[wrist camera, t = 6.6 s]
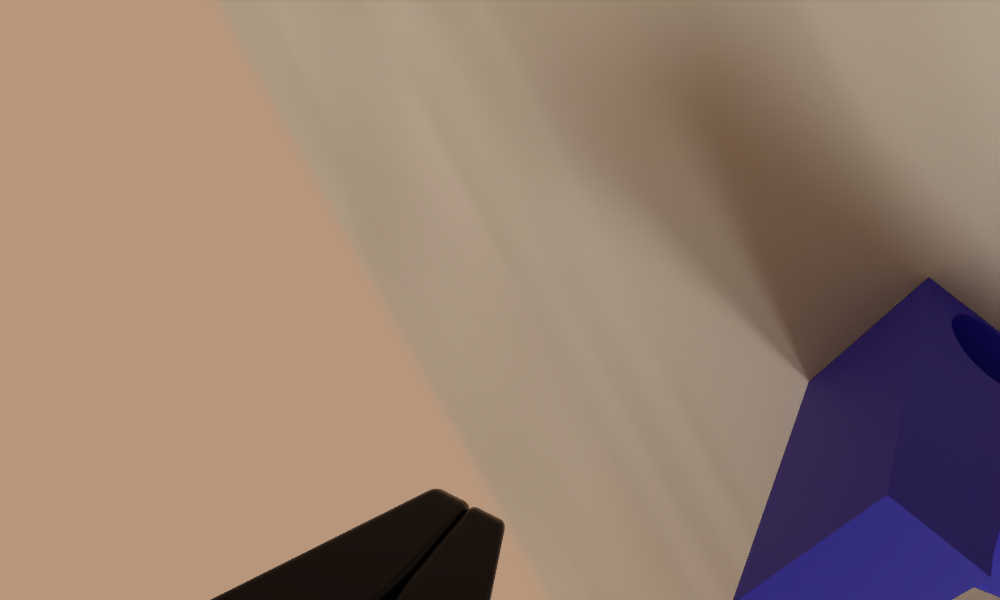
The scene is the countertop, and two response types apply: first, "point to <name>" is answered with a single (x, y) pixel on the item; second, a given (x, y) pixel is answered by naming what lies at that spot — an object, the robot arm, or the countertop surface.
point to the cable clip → (891, 467)
